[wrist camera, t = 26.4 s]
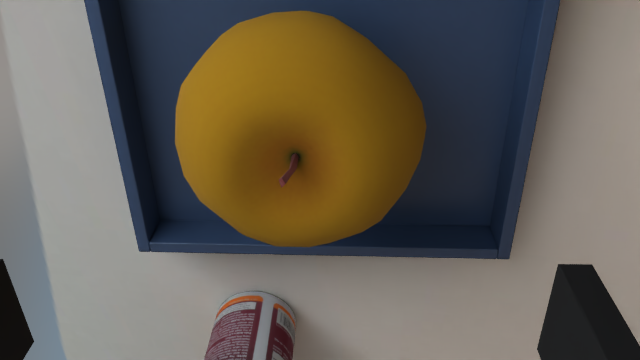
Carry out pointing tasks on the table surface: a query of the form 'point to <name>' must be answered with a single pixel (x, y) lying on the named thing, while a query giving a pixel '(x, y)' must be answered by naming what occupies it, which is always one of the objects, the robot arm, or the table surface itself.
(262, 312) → the pill bottle
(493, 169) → the fruit tray
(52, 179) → the table surface
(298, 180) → the apple
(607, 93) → the table surface
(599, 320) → the robot arm
